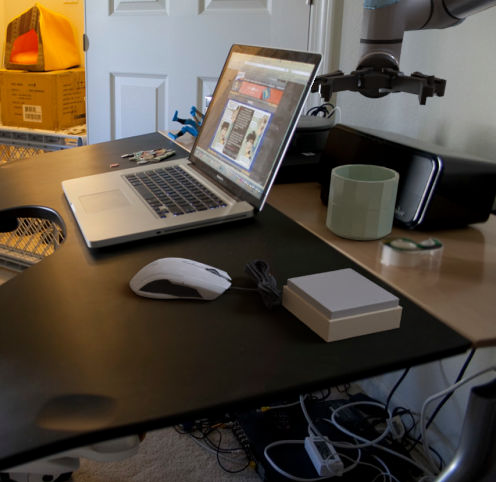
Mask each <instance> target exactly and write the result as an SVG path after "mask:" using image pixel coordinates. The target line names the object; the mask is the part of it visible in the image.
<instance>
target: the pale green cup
mask: <svg viewBox="0 0 496 482" xmlns="http://www.w3.org/2000/svg"><path fill="white" fill-rule="evenodd" d="M399 180H400V174H399V172H397V171H396V170H394V169H391V168H387V167H385V166H379V165H374V164H373V165H372V164H344V165H339V166H336V167H334V168H332V169H331V174H330V182H329V183H330V184H329V194H328V203H327V213H326V222H325V226H326V228H328V230H330V231H331V232H332V233H333V234H335V235H336V236H338V237H340V238H345V239H347V240H348V239H349V240H354V241H375V240H379V239H383V238H384V237H385V236H388V235H389V234H391V233H392V228H393V221H394V215H395V207H396V202H397V193H398V187H399Z"/></svg>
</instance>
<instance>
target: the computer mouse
mask: <svg viewBox="0 0 496 482" xmlns="http://www.w3.org/2000/svg"><path fill="white" fill-rule="evenodd" d="M269 271H270V266H269V264H268V263H267V262H266V261H265V260H263V259H259V258H257V259H252V260H251V261H250V262H246V263H245V265H244V267H243V272H244V273H245V274H246V275H247V276H248V277H249V278H250V279H251V280H252V281H253V282H254V283H255V284H256V286H257V288H246V287H236V286H231V285H232V283H231V282H230V281H232V278H231V277H230V276H229V274H228V272H226V271H224V270H221V269H219V268H216V267H214V266H211V265H208V264H205V263H201V262H198V261H195V260H193V259H187V258H182V257H164V258H159V259H156V260H154V261H152V262H150V263H148V264H147V265H145V266H143V267H142V268H141V269H140V270H139V271H138V272H137V273H135V274H134V276H133V277H132V279H131V280H130V281H129V287H130V289H131V290H132V291H133V292H134V293H135V294H136V295H138V296H140V297H144V298H150V299H157V300H158V299H159V300H174V299H191V300H192V299H194V300H205V301H213V300H215V299H217V298H218V297H220V296H221V295H222V294H223V293H224V292H230V291H231V290H235V291H240V292H241V291H244V292H258V293H259V294H260V296H261V299H262V301H263V303H264V306H265V307H266V308H267V309H268V310H272V309H273V307H274V306H279V305H280V304H281V301H280V297H281V296H280V295H281V294H282V291H281V290H279V289H277V285H278V283H277V281H276V278H275V277H274V275H272V274H271V273H270V272H269Z"/></svg>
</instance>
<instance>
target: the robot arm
mask: <svg viewBox="0 0 496 482" xmlns="http://www.w3.org/2000/svg"><path fill="white" fill-rule="evenodd" d="M362 7H363V8H362V21H361V30H360V38H359V44H358V52H357V53H358V54H357V60H356V62H357V63H356V67H355V69H354V70H351V72H350V73H348V74H345V71H343V70H341V69H337V70H334V71H333V72H328V73H324V74H320V75H315V76H316V78H315V80H314V83H313V85H312V87H311V90H310V89H309V93H311V94H316V93H318V94H319V98H320V99H323V103H330V101H331V98H332V96H333V93H339V92H346V91H349V92H352V93H359V94H360V95H361V96H363V97H365V98H367V99H375V100H376V99H381V98H382V99H383V98H384V97H387V96H388V95H390V94H398V93H406V94H411V95H416V96H418V97H417V98H418V103H419V106H426V105H427V99H428V98H434V96H435V97H438V98H442V97H443V98H444V96H445V92H446V88H447V79H444V78H440V77H436V75H434V74H433V75H428V74H424V73H422V72H420V71H417V70H416V71H413V72H411V73H410V75H406V74H405V73H404V71H401V70H400V61H401V54H402V47H403V42H404V37H405V36H404V35H405V32H414V31H426V30H446V29H450V28H454V27H457V26H459V25H461V24H462V23H464V21H466V19H468V17H471V16H473V15H476V14H479V13H481V12H484V11H487V10H489V9H491V8H494V7H496V0H364V1H363V3H362Z"/></svg>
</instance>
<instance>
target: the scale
mask: <svg viewBox="0 0 496 482" xmlns="http://www.w3.org/2000/svg"><path fill="white" fill-rule="evenodd" d="M399 302H400V298H399V297H397V296H395V295H394V294H393V293H391V292H389V291H387V289H385V288H383V287H381V286H379V285H378V284H376V283H375V282H373V281H371V280H370V279H368V278H367V277H365V276H363V275H362V274H361V273H359V272H357V271H355V270H354V269H352V268H350V267H349V268H343V269H337V270H332V271H326V272H320V273H314V274H309V275H302V276H298V277H292V278H288V279H287V284H286V285H283V286H282V299H281V305H282V306H283V307H284V308H285V309H286V310H288V311H289V312H290V313H291V314H292V315H294V317H296V318H298V320H300V322H302V323H303V324H304V325H306V326H307V327H308V328H309V329H310V330H311V331H313V332H314V333H315V334H317V335H318V336H319V337H320V338H321V339H323V340H324V341H325V342H327V343H331V342H336V341H342V340H345V339H350V338H355V337H361V336H366V335H370V334H374V333H380V332H386V331H389V330H395V329H399V328H400V325H401V319H402V312H403V307H402V306H401V305H399V304H400V303H399Z"/></svg>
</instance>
